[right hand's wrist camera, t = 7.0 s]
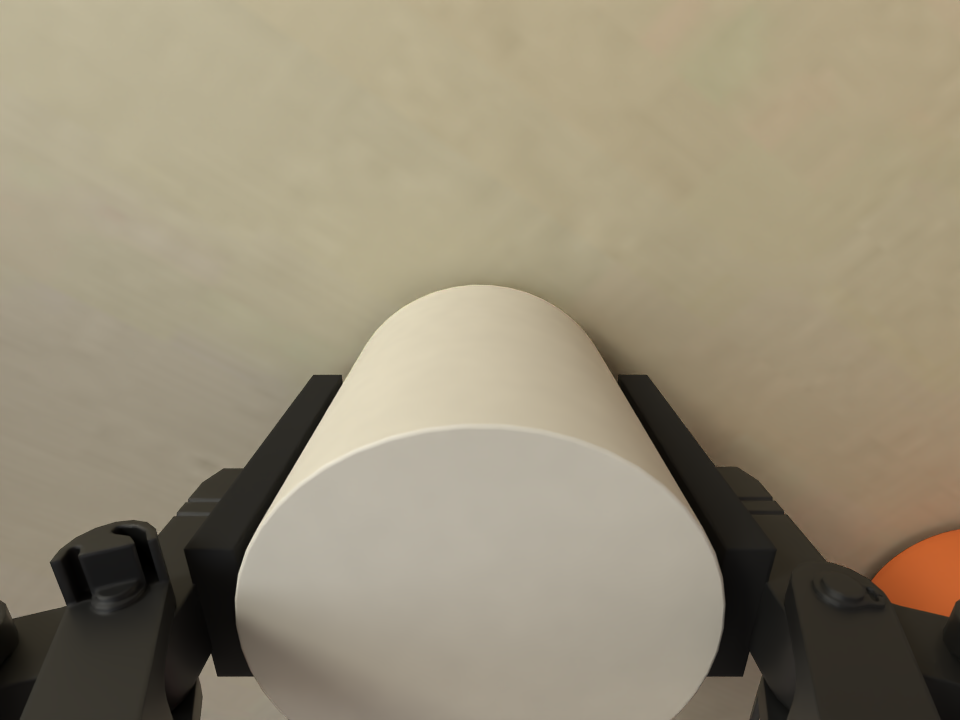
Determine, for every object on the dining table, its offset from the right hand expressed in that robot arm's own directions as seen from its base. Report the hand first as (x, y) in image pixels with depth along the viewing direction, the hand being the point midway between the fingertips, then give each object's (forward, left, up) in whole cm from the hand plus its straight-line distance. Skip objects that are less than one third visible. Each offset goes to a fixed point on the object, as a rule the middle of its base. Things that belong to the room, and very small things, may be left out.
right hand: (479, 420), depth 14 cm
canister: (0, 0, -1) cm, 1 cm away
